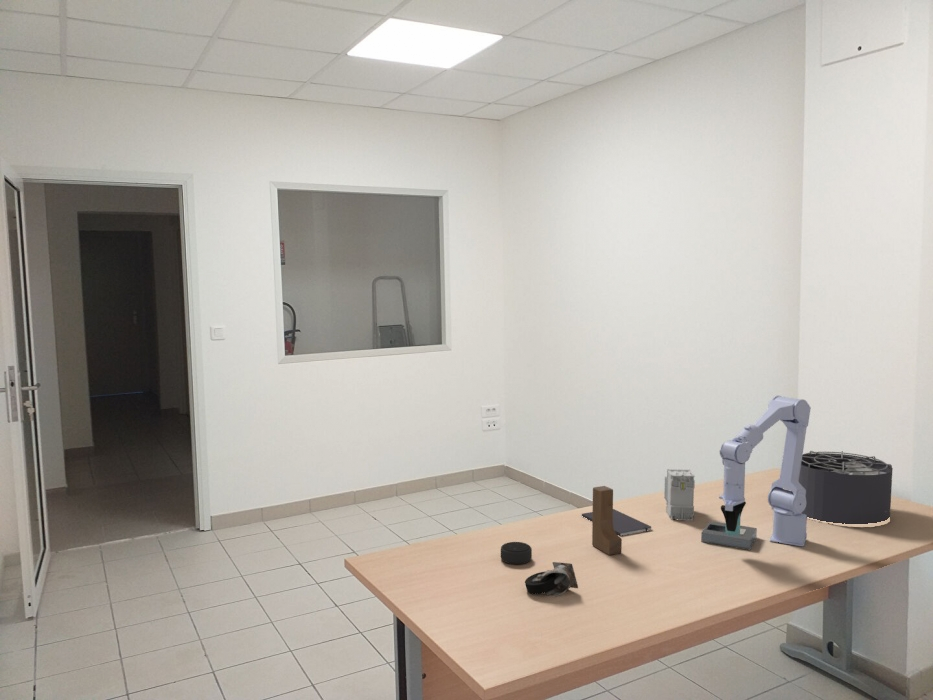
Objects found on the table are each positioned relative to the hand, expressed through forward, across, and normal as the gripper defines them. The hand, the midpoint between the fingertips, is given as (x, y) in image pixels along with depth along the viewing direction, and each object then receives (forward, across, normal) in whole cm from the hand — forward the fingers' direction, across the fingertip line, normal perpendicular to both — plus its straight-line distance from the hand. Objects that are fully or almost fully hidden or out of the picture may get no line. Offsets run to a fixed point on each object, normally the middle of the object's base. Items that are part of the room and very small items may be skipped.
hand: (732, 528), depth 213 cm
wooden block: (+8, +14, -33) cm, 37 cm away
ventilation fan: (+8, -57, +25) cm, 63 cm away
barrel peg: (+1, 0, 0) cm, 1 cm away
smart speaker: (+8, +34, -53) cm, 64 cm away
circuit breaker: (+8, -30, -23) cm, 39 cm away
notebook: (+8, -10, -38) cm, 40 cm away
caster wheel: (+8, +50, -36) cm, 62 cm away
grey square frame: (+8, -12, -3) cm, 14 cm away
